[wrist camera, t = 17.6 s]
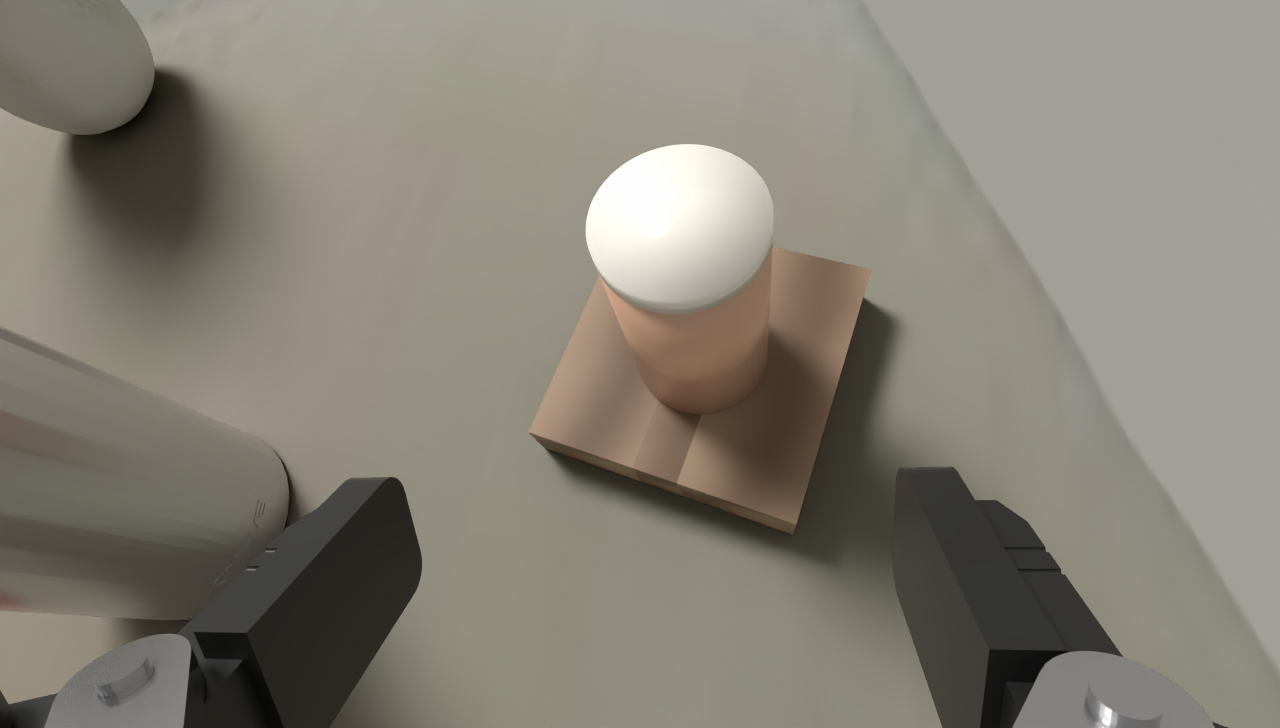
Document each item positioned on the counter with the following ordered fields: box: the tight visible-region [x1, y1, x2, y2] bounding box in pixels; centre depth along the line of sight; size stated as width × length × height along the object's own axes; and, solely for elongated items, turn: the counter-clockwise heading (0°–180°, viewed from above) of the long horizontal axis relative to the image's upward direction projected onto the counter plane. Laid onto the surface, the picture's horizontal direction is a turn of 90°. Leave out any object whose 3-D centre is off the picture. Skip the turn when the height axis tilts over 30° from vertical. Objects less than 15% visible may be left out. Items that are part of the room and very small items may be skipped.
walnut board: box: [529, 247, 871, 535], centre depth 30 cm, size 12×12×2 cm
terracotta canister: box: [586, 144, 774, 414], centre depth 25 cm, size 6×6×10 cm
